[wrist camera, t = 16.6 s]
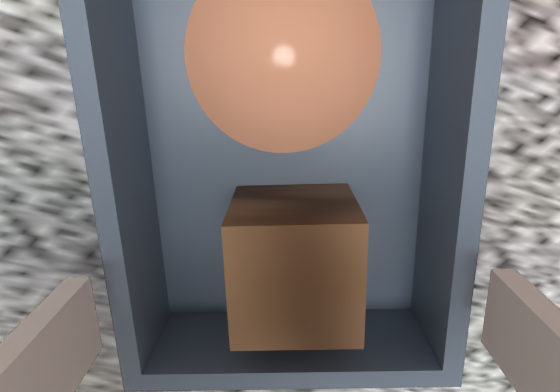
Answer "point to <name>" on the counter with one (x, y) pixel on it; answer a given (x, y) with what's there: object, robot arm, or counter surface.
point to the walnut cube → (295, 267)
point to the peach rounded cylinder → (282, 68)
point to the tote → (284, 171)
